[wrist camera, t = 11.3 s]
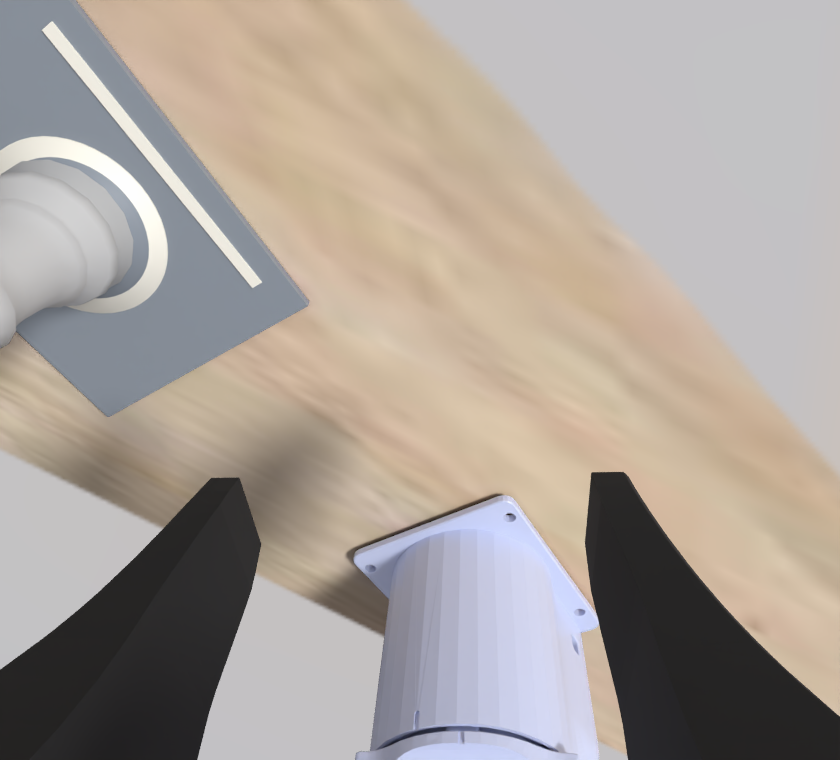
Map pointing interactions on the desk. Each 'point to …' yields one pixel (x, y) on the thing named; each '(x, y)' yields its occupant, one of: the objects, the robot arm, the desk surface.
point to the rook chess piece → (56, 241)
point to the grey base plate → (131, 215)
